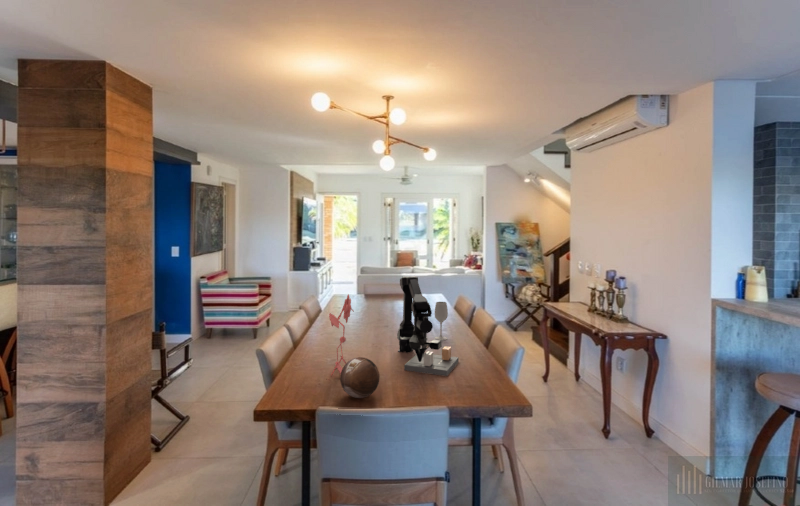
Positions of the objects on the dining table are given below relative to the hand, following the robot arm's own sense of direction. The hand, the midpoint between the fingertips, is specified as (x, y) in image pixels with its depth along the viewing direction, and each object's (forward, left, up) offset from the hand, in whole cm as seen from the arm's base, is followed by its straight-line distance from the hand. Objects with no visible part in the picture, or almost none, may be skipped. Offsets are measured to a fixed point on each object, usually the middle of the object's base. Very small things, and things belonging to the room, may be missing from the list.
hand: (420, 361), depth 198 cm
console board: (+4, +6, -4) cm, 8 cm away
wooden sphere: (-11, -38, -4) cm, 40 cm away
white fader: (+4, 0, -1) cm, 4 cm away
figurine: (-28, -16, -4) cm, 33 cm away
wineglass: (-6, +54, -4) cm, 55 cm away
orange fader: (+9, +11, -1) cm, 15 cm away
